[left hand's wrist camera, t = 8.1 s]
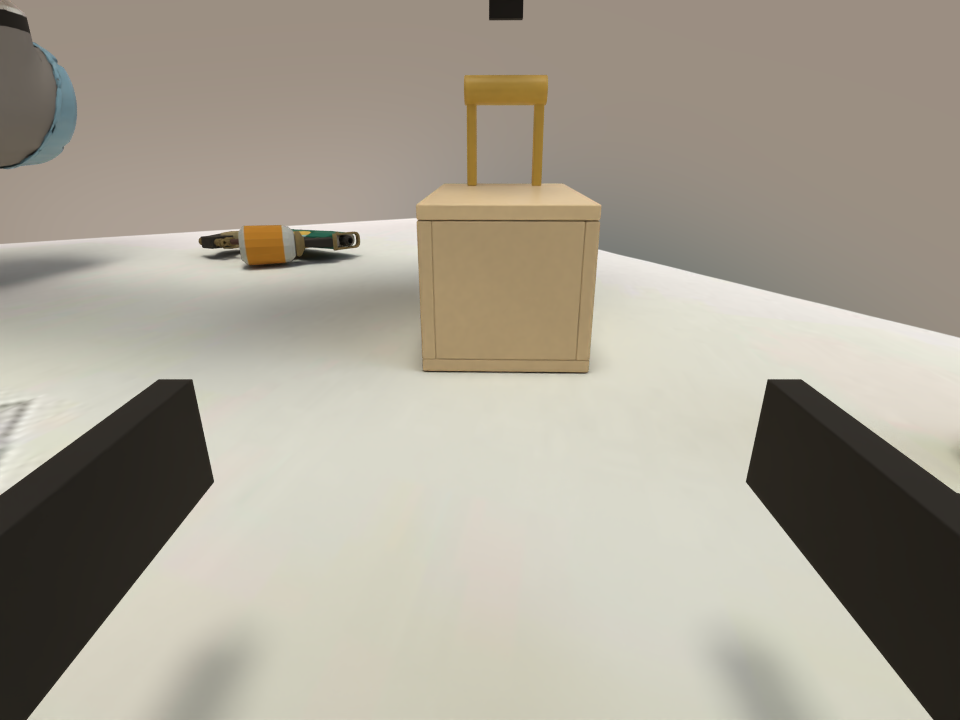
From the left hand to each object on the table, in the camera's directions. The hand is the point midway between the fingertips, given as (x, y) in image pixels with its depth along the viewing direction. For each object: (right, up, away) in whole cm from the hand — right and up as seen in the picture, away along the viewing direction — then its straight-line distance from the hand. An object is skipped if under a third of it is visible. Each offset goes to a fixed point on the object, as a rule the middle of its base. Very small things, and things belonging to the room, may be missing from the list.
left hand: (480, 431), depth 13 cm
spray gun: (-24, +14, +54) cm, 61 cm away
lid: (+2, +12, +24) cm, 27 cm away
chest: (+2, +4, +27) cm, 28 cm away
